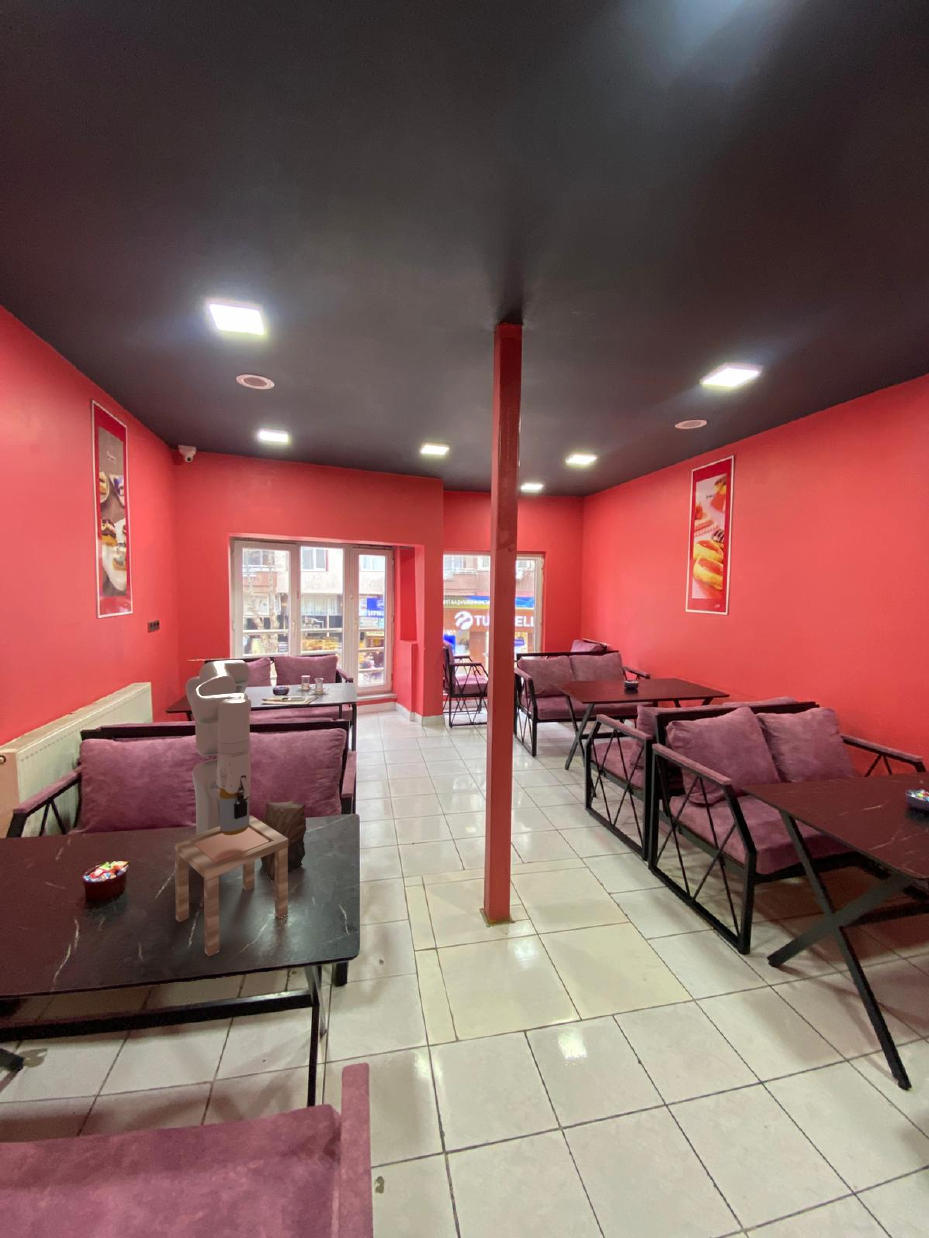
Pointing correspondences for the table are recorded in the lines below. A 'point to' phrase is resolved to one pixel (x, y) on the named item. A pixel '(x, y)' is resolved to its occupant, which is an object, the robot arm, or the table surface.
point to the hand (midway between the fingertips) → (234, 812)
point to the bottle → (231, 813)
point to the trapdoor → (230, 844)
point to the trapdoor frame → (211, 870)
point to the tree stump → (286, 833)
